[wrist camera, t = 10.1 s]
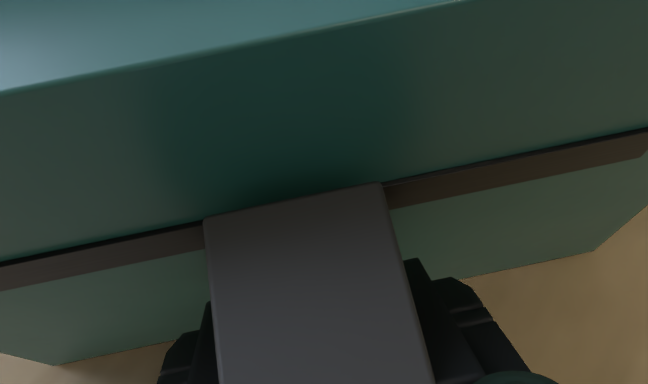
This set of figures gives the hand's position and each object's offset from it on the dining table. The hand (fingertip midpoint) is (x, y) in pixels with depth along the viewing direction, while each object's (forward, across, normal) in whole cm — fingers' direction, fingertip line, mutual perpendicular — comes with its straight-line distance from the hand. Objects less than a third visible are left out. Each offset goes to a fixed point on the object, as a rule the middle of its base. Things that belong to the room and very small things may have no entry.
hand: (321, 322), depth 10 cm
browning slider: (-1, 0, +1) cm, 2 cm away
